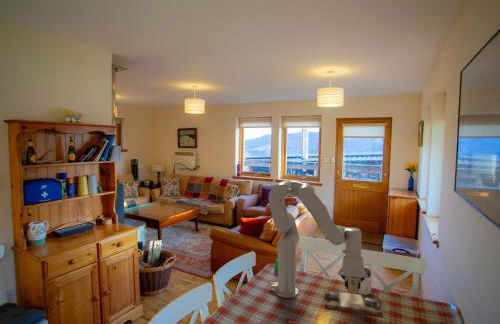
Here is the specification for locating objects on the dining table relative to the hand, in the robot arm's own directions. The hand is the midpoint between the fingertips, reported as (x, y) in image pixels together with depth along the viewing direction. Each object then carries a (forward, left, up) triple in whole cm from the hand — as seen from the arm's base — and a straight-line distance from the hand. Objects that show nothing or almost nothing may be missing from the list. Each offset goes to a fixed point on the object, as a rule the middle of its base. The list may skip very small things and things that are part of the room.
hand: (352, 288), depth 145 cm
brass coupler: (0, 0, -1) cm, 1 cm away
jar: (+7, +15, -8) cm, 18 cm away
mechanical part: (-38, +30, -8) cm, 49 cm away
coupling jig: (0, 0, -8) cm, 8 cm away
